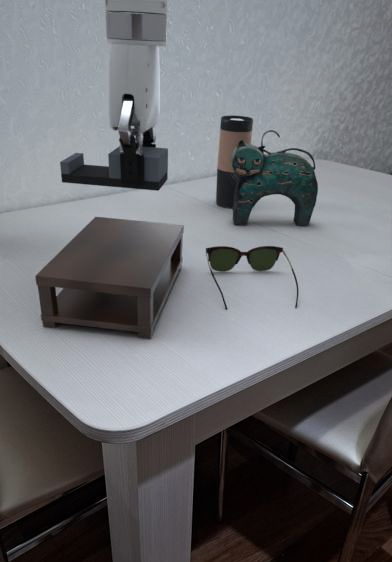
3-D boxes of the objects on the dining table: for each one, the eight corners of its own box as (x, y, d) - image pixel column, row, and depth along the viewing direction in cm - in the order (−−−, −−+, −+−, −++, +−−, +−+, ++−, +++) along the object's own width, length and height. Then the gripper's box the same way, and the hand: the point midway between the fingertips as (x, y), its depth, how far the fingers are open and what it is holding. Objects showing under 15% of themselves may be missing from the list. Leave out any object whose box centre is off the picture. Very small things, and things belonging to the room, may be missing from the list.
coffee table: (41, 326, 72) (35, 275, 68) (98, 258, 94) (95, 216, 90) (150, 340, 71) (150, 288, 66) (182, 267, 92) (183, 225, 88)
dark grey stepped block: (61, 182, 71) (58, 149, 69) (77, 171, 77) (75, 141, 74) (158, 191, 70) (158, 157, 67) (167, 179, 75) (168, 148, 73)
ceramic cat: (227, 226, 112) (235, 130, 102) (223, 217, 118) (231, 125, 107) (314, 228, 114) (331, 134, 103) (306, 219, 120) (321, 128, 109)
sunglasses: (279, 270, 93) (283, 245, 90) (303, 314, 82) (309, 287, 79) (202, 271, 91) (204, 246, 88) (216, 316, 80) (219, 289, 77)
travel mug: (246, 201, 130) (254, 116, 119) (243, 210, 123) (252, 121, 113) (217, 198, 131) (222, 114, 120) (212, 206, 124) (218, 119, 114)
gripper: (125, 29, 70) (129, 162, 80) (84, 29, 56) (95, 191, 66) (178, 32, 70) (175, 166, 79) (150, 32, 55) (151, 196, 65)
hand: (139, 176), depth 72 cm, fingers closed on dark grey stepped block, 6 cm apart
